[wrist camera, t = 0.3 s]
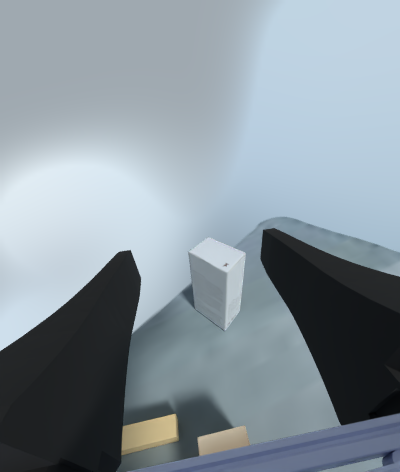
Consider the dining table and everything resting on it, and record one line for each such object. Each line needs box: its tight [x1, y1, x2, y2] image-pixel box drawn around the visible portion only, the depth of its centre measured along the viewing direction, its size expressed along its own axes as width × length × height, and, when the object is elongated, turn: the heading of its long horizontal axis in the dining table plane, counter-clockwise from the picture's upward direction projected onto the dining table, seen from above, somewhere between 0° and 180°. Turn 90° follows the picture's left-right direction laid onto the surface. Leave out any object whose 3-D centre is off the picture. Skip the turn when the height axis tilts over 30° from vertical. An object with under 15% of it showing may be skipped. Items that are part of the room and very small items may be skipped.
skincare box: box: [188, 237, 246, 331], centre depth 27 cm, size 6×4×12 cm
